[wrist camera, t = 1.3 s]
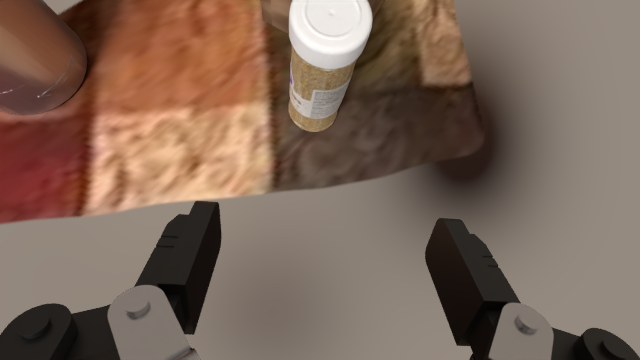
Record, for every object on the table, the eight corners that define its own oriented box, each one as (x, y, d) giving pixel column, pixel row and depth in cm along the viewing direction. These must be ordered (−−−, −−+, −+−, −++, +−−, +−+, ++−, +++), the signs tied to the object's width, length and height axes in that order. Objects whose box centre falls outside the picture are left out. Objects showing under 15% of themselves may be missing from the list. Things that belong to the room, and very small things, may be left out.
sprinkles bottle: (283, 92, 31) (279, -20, 18) (330, 82, 32) (361, -32, 18) (295, 138, 30) (300, 58, 17) (343, 128, 31) (385, 42, 18)
